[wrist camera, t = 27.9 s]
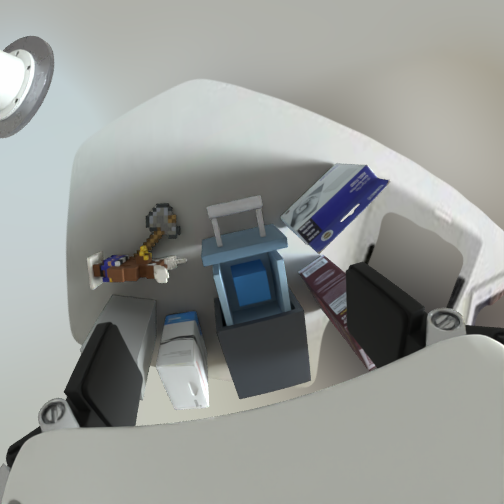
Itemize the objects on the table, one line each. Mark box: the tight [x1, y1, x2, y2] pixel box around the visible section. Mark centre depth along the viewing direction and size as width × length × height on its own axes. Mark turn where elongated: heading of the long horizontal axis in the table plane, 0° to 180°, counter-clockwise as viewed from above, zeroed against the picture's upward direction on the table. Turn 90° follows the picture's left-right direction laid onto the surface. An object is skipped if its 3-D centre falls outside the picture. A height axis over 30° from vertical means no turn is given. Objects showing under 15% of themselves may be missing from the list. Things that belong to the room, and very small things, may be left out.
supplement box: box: [298, 255, 376, 371], centre depth 34 cm, size 9×5×16 cm, turn 34°
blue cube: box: [230, 259, 271, 307], centre depth 35 cm, size 4×4×4 cm
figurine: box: [87, 203, 186, 289], centre depth 32 cm, size 8×10×12 cm
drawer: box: [201, 195, 291, 326], centre depth 34 cm, size 16×9×7 cm, turn 11°
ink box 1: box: [156, 311, 209, 410], centre depth 35 cm, size 8×5×12 cm, turn 7°
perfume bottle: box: [80, 295, 156, 400], centre depth 30 cm, size 7×7×18 cm
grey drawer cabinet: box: [214, 285, 311, 399], centre depth 38 cm, size 13×11×9 cm
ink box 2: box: [280, 163, 390, 254], centre depth 32 cm, size 12×2×12 cm, turn 133°
